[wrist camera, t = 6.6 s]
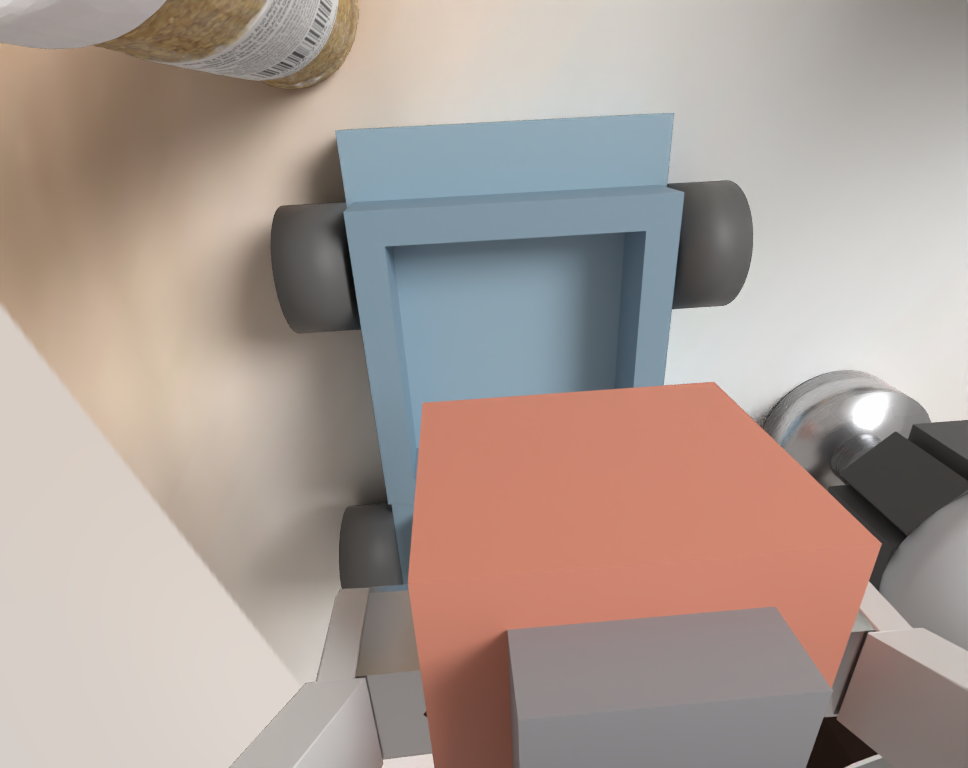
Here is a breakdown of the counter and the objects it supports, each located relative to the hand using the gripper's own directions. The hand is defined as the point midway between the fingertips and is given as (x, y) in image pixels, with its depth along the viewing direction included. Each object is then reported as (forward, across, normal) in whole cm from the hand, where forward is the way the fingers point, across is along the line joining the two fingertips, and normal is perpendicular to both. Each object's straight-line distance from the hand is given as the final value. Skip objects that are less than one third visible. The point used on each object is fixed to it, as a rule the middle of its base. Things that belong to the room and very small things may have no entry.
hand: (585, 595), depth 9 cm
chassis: (+13, 0, +3) cm, 13 cm away
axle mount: (+13, -14, +6) cm, 20 cm away
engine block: (+2, 0, 0) cm, 2 cm away
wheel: (+8, -14, +6) cm, 17 cm away
